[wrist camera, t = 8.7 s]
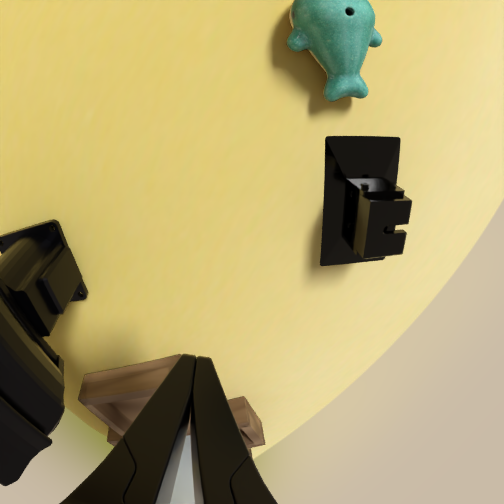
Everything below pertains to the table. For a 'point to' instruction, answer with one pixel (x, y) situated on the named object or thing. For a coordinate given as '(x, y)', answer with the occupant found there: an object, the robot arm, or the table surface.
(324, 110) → the table surface
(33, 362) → the robot arm
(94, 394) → the brown compartment tray
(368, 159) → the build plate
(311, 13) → the whale figurine
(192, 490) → the block
